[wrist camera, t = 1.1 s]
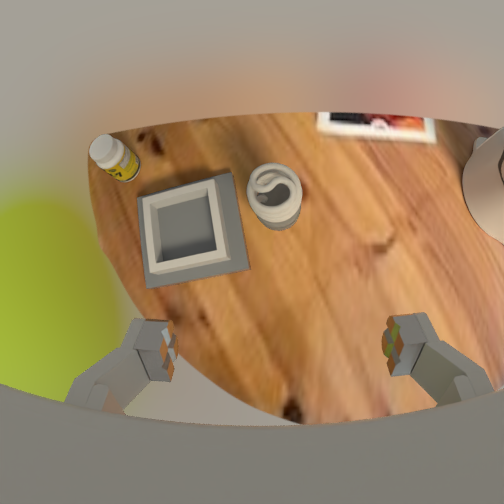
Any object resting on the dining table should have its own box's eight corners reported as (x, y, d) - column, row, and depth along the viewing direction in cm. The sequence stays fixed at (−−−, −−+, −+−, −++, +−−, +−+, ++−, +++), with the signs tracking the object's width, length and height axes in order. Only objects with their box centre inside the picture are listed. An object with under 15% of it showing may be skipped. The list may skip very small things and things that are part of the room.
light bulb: (254, 233, 42) (236, 205, 30) (263, 192, 43) (249, 152, 31) (297, 241, 41) (296, 215, 29) (305, 199, 42) (306, 160, 30)
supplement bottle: (111, 179, 47) (81, 158, 39) (124, 152, 47) (96, 128, 39) (133, 186, 46) (104, 165, 38) (146, 159, 46) (120, 134, 38)
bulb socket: (233, 176, 44) (227, 164, 40) (250, 269, 41) (245, 265, 37) (141, 200, 45) (128, 192, 41) (151, 289, 43) (137, 287, 39)
